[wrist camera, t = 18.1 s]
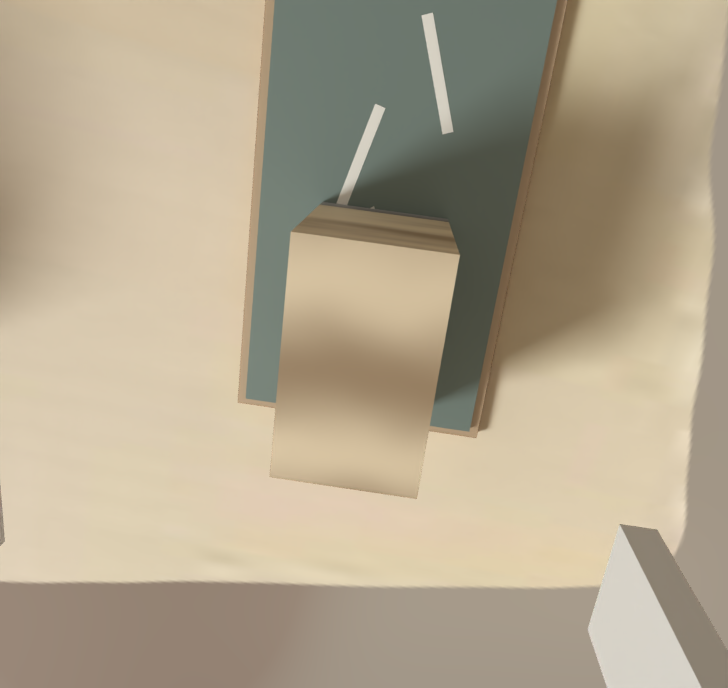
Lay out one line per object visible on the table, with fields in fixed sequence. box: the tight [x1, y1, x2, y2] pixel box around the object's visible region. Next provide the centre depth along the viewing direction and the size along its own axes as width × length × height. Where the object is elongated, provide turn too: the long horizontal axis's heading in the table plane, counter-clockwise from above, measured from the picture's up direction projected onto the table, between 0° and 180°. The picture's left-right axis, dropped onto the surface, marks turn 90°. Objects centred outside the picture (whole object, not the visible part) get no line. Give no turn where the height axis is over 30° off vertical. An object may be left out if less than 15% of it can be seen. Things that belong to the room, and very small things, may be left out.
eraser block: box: [270, 202, 460, 499], centre depth 29 cm, size 10×6×8 cm, turn 173°
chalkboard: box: [238, 0, 568, 438], centre depth 31 cm, size 27×13×1 cm, turn 173°
